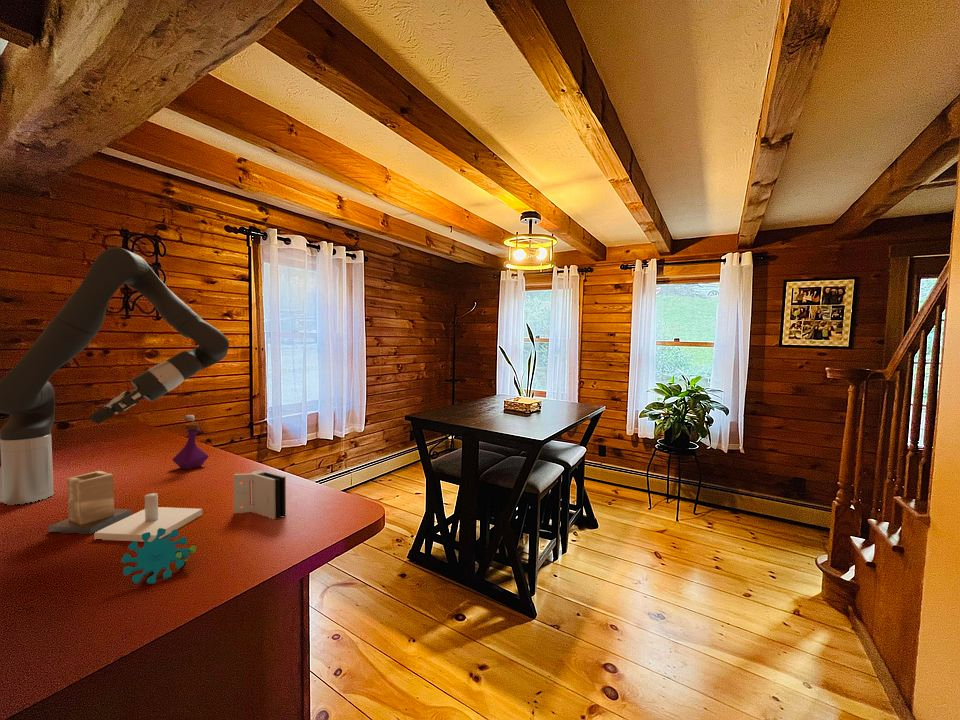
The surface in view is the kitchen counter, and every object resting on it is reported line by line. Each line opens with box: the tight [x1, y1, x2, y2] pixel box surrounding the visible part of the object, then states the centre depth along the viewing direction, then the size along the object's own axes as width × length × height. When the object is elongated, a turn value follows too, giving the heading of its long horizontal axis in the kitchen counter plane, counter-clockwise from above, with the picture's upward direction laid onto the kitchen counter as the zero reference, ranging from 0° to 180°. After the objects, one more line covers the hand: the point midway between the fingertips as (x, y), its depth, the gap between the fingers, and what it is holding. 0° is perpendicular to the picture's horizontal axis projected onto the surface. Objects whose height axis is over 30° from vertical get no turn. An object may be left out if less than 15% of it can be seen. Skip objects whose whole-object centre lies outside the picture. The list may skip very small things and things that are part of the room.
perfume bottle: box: [171, 414, 210, 470], centre depth 139 cm, size 8×8×18 cm
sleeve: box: [66, 470, 115, 525], centre depth 97 cm, size 6×6×10 cm
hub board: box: [93, 492, 203, 543], centre depth 96 cm, size 14×14×8 cm
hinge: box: [233, 469, 287, 520], centre depth 104 cm, size 14×5×10 cm, turn 74°
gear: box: [120, 528, 197, 585], centre depth 78 cm, size 11×6×10 cm
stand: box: [48, 508, 132, 535], centre depth 97 cm, size 10×10×10 cm
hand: (92, 420), depth 101 cm, fingers open, 8 cm apart
